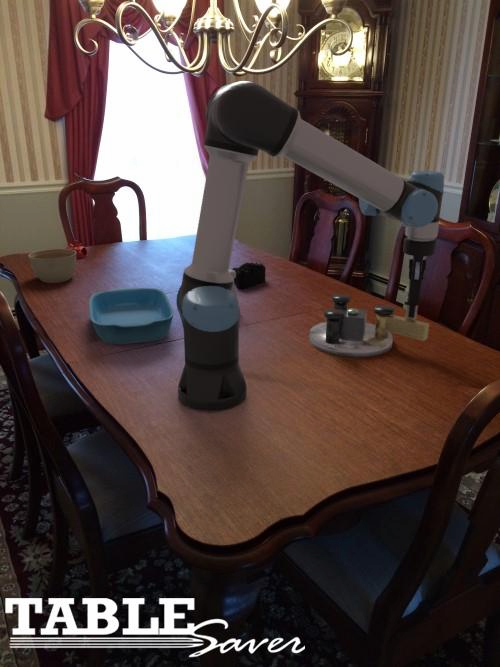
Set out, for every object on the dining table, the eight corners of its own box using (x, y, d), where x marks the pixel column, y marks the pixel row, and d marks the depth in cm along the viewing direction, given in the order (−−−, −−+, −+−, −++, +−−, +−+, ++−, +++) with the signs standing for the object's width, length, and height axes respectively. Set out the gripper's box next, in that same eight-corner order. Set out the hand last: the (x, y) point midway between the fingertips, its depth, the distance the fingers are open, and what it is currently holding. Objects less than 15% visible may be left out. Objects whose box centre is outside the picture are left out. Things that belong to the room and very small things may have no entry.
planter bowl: (71, 275, 210) (68, 246, 206) (85, 285, 198) (82, 255, 194) (27, 281, 202) (23, 251, 198) (38, 292, 189) (34, 260, 185)
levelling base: (390, 361, 137) (394, 323, 134) (302, 351, 143) (304, 314, 139) (393, 331, 157) (397, 297, 153) (316, 323, 163) (318, 290, 159)
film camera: (248, 279, 207) (248, 255, 204) (268, 284, 202) (269, 260, 198) (220, 288, 196) (220, 263, 193) (241, 293, 191) (242, 267, 187)
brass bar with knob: (367, 336, 147) (370, 308, 144) (377, 331, 151) (380, 304, 148) (419, 350, 138) (423, 321, 135) (428, 345, 142) (432, 316, 139)
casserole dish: (90, 310, 173) (88, 287, 170) (162, 304, 178) (161, 283, 176) (92, 355, 140) (89, 328, 137) (180, 347, 145) (179, 321, 143)
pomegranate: (60, 262, 229) (57, 239, 226) (83, 258, 235) (81, 237, 232) (68, 266, 222) (66, 243, 218) (92, 263, 228) (90, 240, 224)
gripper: (404, 231, 141) (395, 317, 150) (404, 242, 130) (393, 335, 139) (435, 232, 139) (424, 320, 148) (437, 244, 128) (425, 338, 137)
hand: (409, 327), depth 144 cm, fingers closed
